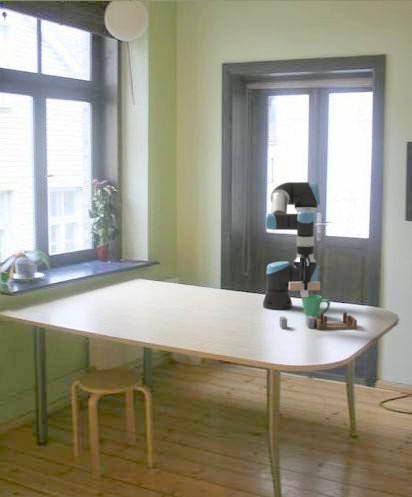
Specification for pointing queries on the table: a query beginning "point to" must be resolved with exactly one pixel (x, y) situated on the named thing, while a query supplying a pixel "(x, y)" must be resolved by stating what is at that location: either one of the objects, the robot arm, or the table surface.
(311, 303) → the mug
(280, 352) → the table surface
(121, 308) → the table surface
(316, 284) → the clay strip
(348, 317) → the rack
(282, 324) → the grey blocks
